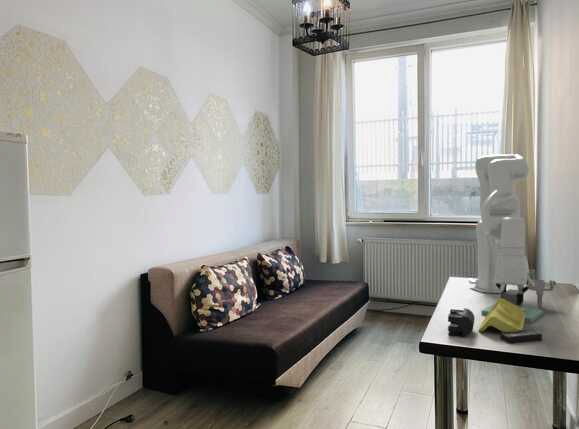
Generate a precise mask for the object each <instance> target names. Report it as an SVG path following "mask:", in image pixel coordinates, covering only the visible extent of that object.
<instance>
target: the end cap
mask: <svg viewBox="0 0 579 429" xmlns="http://www.w3.org/2000/svg"><path fill="white" fill-rule="evenodd" d="M447 322H449V325H447V332H448V333H447V335H448V336H449V337H457V338H465V337H467V336H468V335H470V334H472V333H473V330H474V325H475V314H474V312H472V311H471V310H470V309H469V308H466V307H464V308H463V309H453V308H451V309H450V310H449V313H448V315H447Z"/></svg>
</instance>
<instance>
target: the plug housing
mask: <svg viewBox="0 0 579 429" xmlns="http://www.w3.org/2000/svg"><path fill="white" fill-rule="evenodd" d="M518 292H519V291H518V289H511V288H510V289H508V290H506V292H504V293H503V299H505V300H506V301H508V302H510V303H512V304H514V305H516V306H517V307H519V308H520V307H523V303H524V302H523V303H522V304H521V305H517V295H518Z"/></svg>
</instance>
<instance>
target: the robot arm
mask: <svg viewBox="0 0 579 429" xmlns="http://www.w3.org/2000/svg"><path fill="white" fill-rule="evenodd" d="M474 167H475V174H476V177H477V178H478V182H479V211H480V220H479V221H477V223H476V225H475V231H476V232H475V234H476V238H477V278H476V279H474V278H469V279H468V283H469V285H470V284H473V285H474V286H473V289H474V290H475V291H477V292H482V293H485V294H486V293H489V294H500V299H501V298H502V299H503V293H504V292H506V291H507V286H508V285H511V286H517V290H518V291H519V292H518V295H517V305H521V304H522V303H524V298H525V297H524V293H526V292H527V291H529V290H530V288H532V287H534V286H535V283H533V282H532V280H531V279H532V278H531V277H530V270H529V269H530V268H529V262H528V257H527V256H526V255H525V254H526V252H525V251H526V250H525V246H526V244H525V243H526V235H525V234H526V232H525V231H526V221H525V218H523V217H521V211H522V210H521V209H522V208H521V200H520V198H519V197H518V196H517V195H515V193H516V189H515V188H516V187H515V183H514V181H515V180H516V181H518V180H521V181H522V180H525V179H526V178H528V176H529V174H530V173H529V171H530V170H529V164H528V162H527V160H526V159H525V158H524V157H523V156H521V155H520V154H490V155H487V154H486V155H481V156H479V157H477V159H476V160H475V166H474ZM496 242H500V246H499V245H498V244H497V243H496ZM525 284H528V286H527V285H525Z"/></svg>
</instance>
